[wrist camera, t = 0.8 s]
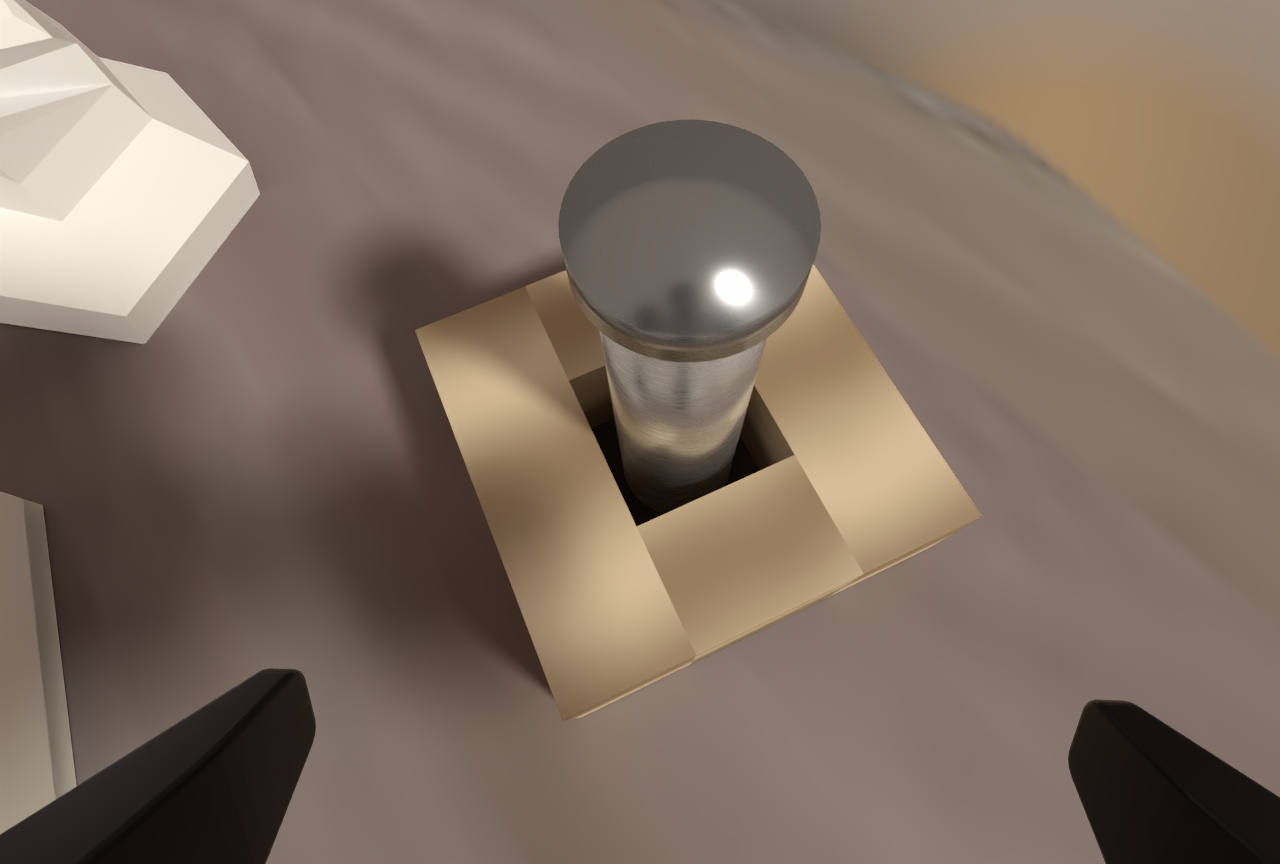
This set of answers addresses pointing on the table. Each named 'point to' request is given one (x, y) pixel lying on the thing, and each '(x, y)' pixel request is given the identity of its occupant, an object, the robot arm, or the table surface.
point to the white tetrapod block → (103, 185)
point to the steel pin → (686, 288)
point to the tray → (29, 670)
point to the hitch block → (700, 530)
